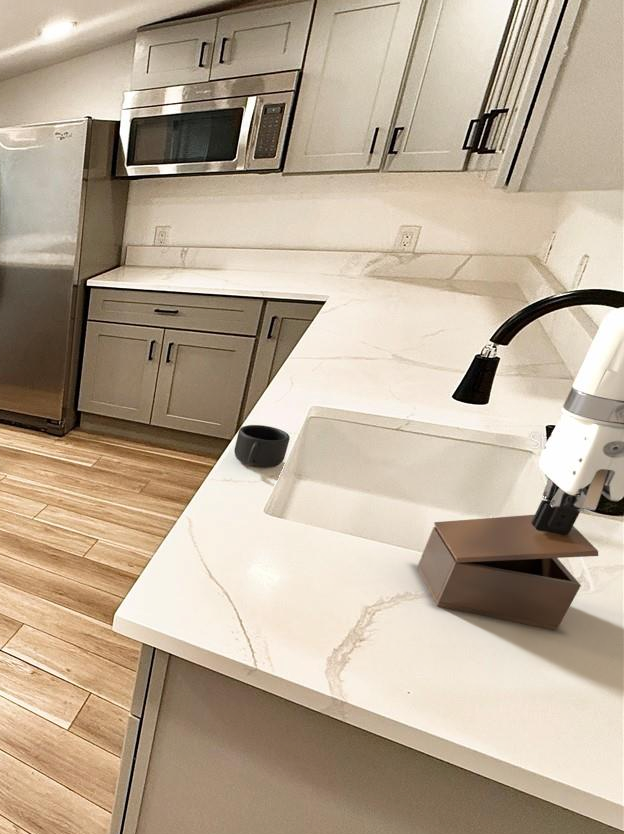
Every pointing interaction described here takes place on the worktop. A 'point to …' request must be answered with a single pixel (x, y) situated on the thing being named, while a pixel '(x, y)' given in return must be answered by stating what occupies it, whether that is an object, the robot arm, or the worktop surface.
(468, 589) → the box
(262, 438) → the mug
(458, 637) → the worktop surface
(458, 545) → the lid
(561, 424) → the robot arm
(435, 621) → the worktop surface
